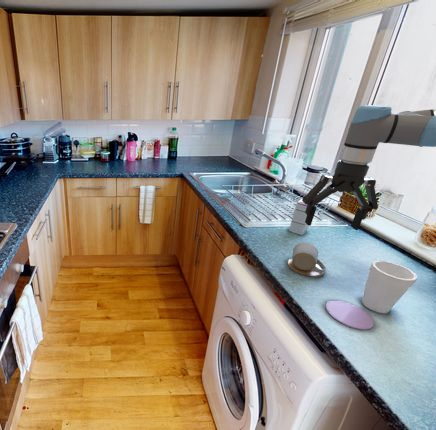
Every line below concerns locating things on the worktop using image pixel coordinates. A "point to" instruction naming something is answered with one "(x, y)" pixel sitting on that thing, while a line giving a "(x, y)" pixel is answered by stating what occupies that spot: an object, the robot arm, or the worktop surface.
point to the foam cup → (386, 285)
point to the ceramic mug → (307, 257)
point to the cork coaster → (304, 272)
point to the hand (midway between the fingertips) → (330, 226)
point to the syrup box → (299, 219)
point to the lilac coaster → (349, 315)
